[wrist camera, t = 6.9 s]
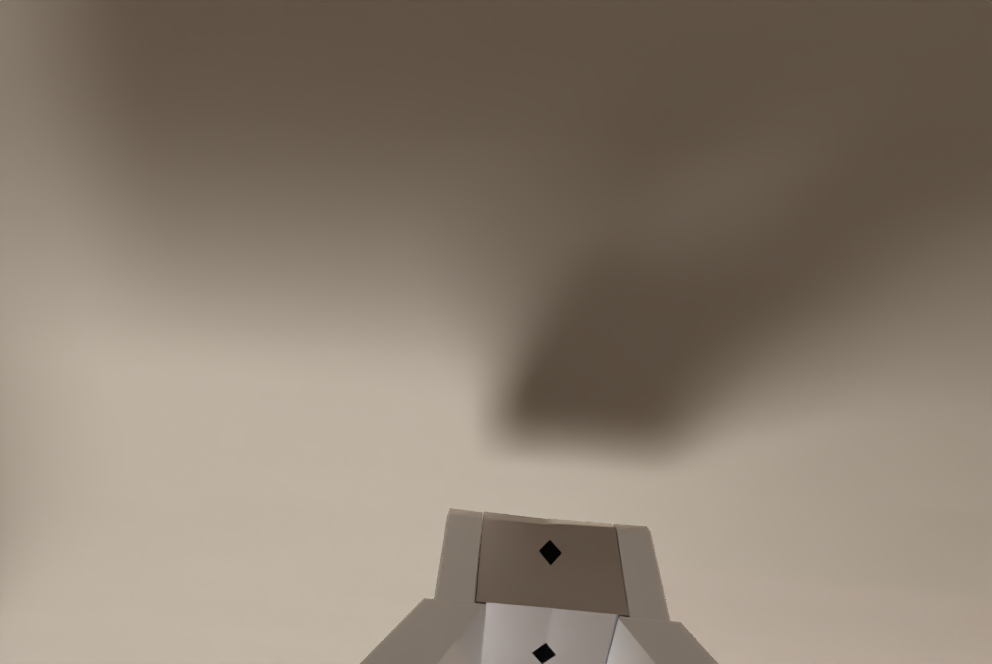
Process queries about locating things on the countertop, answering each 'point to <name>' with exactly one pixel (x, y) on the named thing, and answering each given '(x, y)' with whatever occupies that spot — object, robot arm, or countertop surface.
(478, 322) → the countertop surface
